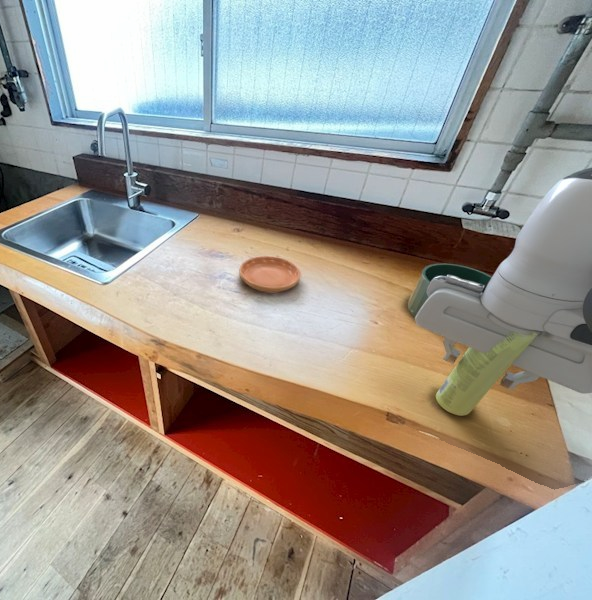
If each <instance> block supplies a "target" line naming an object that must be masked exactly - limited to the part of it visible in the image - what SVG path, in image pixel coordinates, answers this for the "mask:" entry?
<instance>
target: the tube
mask: <svg viewBox="0 0 592 600" xmlns="http://www.w3.org/2000/svg"><path fill="white" fill-rule="evenodd" d="M537 335H538V334H537V333H536V332H535V331H533V332H532V334H531V335H526V334H521V333H517V332H514V333H512V334H510V335H508V336H507V338H506V339H504V340H502V341H501V342H500V343H498V344H497V345H496V346H495V347H493V348H492V349H491V350H490V351H489V352H487V353H482V352H479V351H477V350H474V349H472V348H470V347H467V350H466V351H465V353H464V354H463V355H462V356H461V358H460V359H459V361H458V362H457V364H456V365H455V366H454V368H453V369H452V370H451V372H450V374H449V375H448V376H447V378H446V379H445V381H444V382H443V384H442V385H441V386H440V388H439V389H438V391H437V392H436V394H435V399H436V402H437V404H438V405H439V406H440V407H441V408H442V409H443V410H444V411H446V412H448V413H450V414H453V415H455V416H460V417H462V416H463V417H464V416H467V415H469V414H470V413H471V412H472V411H473V410H474V409H475V407H476V406H477V405H478V404H479V403H480V402H481V400H482V399H483V398H484V397H485V396H486V394H487V393H488V392H489V391H490V390H491V388H492V387H493V386H494V385H495V384H496V383H497V382H498V381H499V379H500V378H502V377H503V375H504V374H505V373H506V371H507V370H508V369H509V368H510V367H511V366H512V365H511V364H512V363H513V362H514V361H515V359H516V358H517V357H518V356H519V355H520V354H521V353H522V352H523V350H524V349H525V348H526V347H527V346H528V345H529V344H530V343H531V342H532V341H533V339H534V338H535V337H536V336H537Z"/></svg>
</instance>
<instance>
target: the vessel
mask: <svg viewBox="0 0 592 600" xmlns="http://www.w3.org/2000/svg"><path fill="white" fill-rule="evenodd" d="M447 275H453V276H457V277H459V278H461V279H464V280H469V281H473V282H476V283H479V284H483V285H488V283H489V281H490V280H491V278H492V276H493V275H489V274H488V273H486V272H484V271H481V270H479V269H476V268H473V267H469V266H465V265H460V264H456V263H455V264H454V263H445V262H443V263H433V264H429V265H426V266H425V267H424V268H423V269H422V270H421V272H420V274H419V277H418V279H417V281H416V283H415V285H414V288H413V290H412V292H411V294H410V297H409V299H408V301H407V309H408V311H409V312H410V314H411V315H412V316H413V318H415V317H416V315H417V313H418V312H419V310H420V309H421V307H422V306H423V304H424V303H425V301H426V300H427V299H428V298H429V297H428V295H427V288H428V286H429V284H430V282H431V280H432V279H434V278H435V277H438V276H447ZM444 280H445V279H444Z"/></svg>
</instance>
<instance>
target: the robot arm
mask: <svg viewBox="0 0 592 600" xmlns="http://www.w3.org/2000/svg"><path fill="white" fill-rule="evenodd" d="M491 276H492V278H491V280H490V281H489V283H488V285H483V284H479V283H476V282H473V281H469V280H464V279H461V278H459V277H457V276H453V275H447V276H438V277H435V278H434V279H432V280H431V282H430V284H429V286H428V288H427V295H428V297H429V298H428V299H427V300H426V301H425V303H424V304H423V306H422V307H421V309H420V310H419V312H418V313H417V315H416V317H414V321H415V325H416V326H417V327H418V328H421V329H424V330H426V331H428V332H431V333H434V334H435V335H438V336H441V337H443V338H444V340H443V346H444V351H445V354H444V356H443V358H442V361H445V362H447V363H449V364H452V365H454V364H455V362H456V361H457V359H458V358H459V356H460V354H461V353H462V351H461V350H458V349H457V348H456V347H455V346H456V344H457V343H458V344H459V345H463V346H465V347H467V348H469V347H470V348H472V349H474V350H477V351H479V352H482V353H487V352H489V351H490V350H491V349H492V348H493V347H495V346H496V345H497V344H498V343H500V342H501V341H502V340H504V339H506V338H507V336H508V335H510V334H512V333H514V332H517V333H521V334H526V335H531V334H532V332H533V331H535V332H536V333H537V334H538V335H537V336H536V337H535V338H534V339H533V341H532V342H531V343H530V344H529V345H528V346H527V347H526V348H525V349H524V350H523V352H522V353H521V354H520V355H519V356H518V357H517V358H516V359H515V361H514V362H513V363H512V364H511V365H510V366H514V367H516V368H518V369H521V370H522V371H519V372H517V373H513V372H510V371H507V370H506V371H507V372H505V373H504V375H502V377H501V379H500V382H499V386H501V387H504V389H505V388H506V389H507V390H509V391H514V390H515V389H516V387H517V386H518V385H522V384H527V383H532V382H536V381H537V380H538V379H539V378H542V379H545V380H547V381H550V382H553V383H555V384H558V385H560V386H562V387H564V388H567V389H569V390H572V391H574V392H576V393H580V394H586V395H587V394H592V167H588V168H585V169H581V170H578V171H575V172H573V173H571V174H569V175H567V176H565V177H563V178H562V179H560V180H559V181H557V182H556V183H555V184H554V185H553V186H552V187H551V188H550V189H549V190H548V192H546V194H545V195H544V197H542V199H540V201H539V203H537V205H536V207H535V208H534V210H533V211H532V212H531V214H530V215H529V217H528V218H527V220H526V221H525V223H524V224H523V226H522V227H521V229H520V231H519V232H518V234H517V236H516V239H515V243H514V247H513V249H512V251H511V252H510V254H509V255H508V256H507V257H506V258H505V259H504V260H502V262H500V264H499V265H498V267H497V268H496V270H495V271H494V273H493V275H491ZM444 279H445V280H444ZM523 370H524V371H523Z"/></svg>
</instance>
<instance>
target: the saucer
mask: <svg viewBox="0 0 592 600" xmlns="http://www.w3.org/2000/svg"><path fill="white" fill-rule="evenodd" d="M238 273H239V276H240V278H241V280H242V281H243V282H244V283H245V284H246V285H248V286H249V287H251V288H252V289H254V290H257V291H259V292H264V293H271V294H272V293H273V294H274V293H280V292H285V291H287V290H290V289H291V288H293V287H295V286H296V285H297V284H298V283H299V282H300V280H301V277H302V272H301V270H300V268H299V267H298V266H297V265H296V264H295V263H293V262H292V261H289V260H287V259H285V258H282V257H277V256H270V255H259V256H254V257H250V258H248V259H246V260H244V261H243V262H242V263H241V264H240V266H239V269H238Z"/></svg>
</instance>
